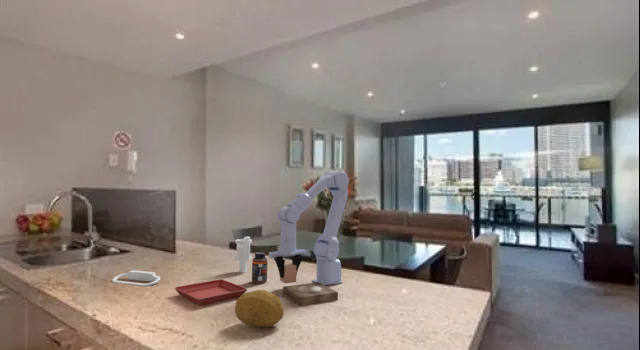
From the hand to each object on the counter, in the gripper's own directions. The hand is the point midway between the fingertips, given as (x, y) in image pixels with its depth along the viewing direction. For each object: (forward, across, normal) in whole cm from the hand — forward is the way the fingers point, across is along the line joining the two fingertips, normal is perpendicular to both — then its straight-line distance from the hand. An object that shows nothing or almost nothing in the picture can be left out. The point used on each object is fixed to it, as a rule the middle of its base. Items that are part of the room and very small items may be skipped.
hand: (288, 276), depth 135 cm
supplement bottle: (+5, -6, +14) cm, 16 cm away
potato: (+5, -21, -29) cm, 36 cm away
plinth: (+4, +3, -12) cm, 13 cm away
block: (+2, 0, 0) cm, 2 cm away
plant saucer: (+5, -27, +3) cm, 28 cm away
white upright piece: (+5, -7, +33) cm, 34 cm away
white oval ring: (+5, -49, +34) cm, 60 cm away
